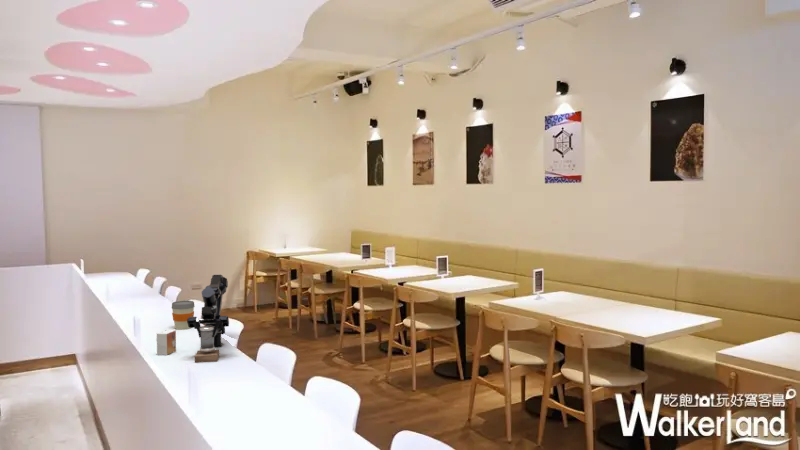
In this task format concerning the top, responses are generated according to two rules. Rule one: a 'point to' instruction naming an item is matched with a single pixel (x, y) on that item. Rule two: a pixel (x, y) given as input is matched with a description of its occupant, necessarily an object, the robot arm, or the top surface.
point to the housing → (207, 338)
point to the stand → (207, 356)
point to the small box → (166, 342)
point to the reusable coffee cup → (182, 313)
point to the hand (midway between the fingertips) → (206, 337)
